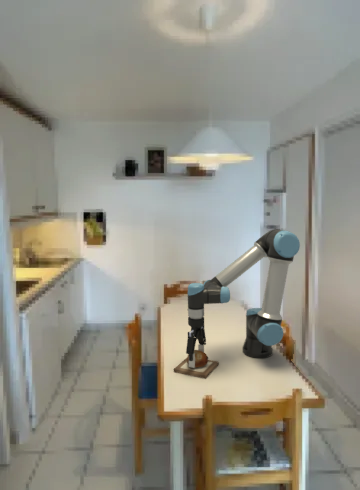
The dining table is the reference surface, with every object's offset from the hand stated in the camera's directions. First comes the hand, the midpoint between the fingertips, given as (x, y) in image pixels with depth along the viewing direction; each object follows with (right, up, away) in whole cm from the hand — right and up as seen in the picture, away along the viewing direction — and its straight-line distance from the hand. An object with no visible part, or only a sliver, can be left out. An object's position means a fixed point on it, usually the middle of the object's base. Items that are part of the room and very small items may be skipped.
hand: (196, 362), depth 177 cm
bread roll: (0, -1, 0) cm, 1 cm away
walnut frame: (0, -3, 0) cm, 3 cm away
